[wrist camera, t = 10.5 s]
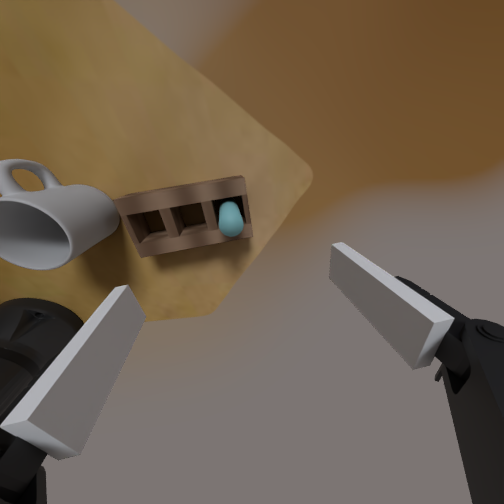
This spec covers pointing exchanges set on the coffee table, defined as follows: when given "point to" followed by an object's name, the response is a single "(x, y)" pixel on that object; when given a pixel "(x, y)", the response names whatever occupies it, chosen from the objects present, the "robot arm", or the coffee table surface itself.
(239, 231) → the peg
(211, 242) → the hole block
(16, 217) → the mug
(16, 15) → the coffee table surface
